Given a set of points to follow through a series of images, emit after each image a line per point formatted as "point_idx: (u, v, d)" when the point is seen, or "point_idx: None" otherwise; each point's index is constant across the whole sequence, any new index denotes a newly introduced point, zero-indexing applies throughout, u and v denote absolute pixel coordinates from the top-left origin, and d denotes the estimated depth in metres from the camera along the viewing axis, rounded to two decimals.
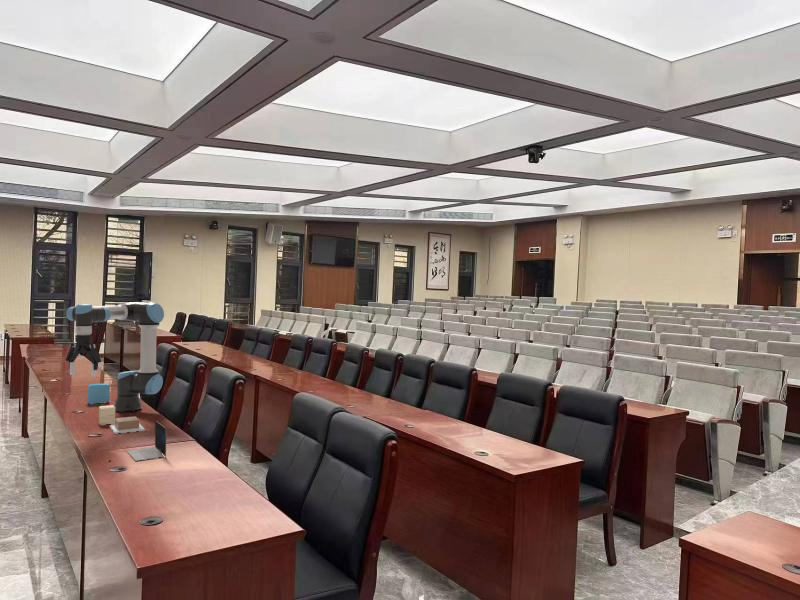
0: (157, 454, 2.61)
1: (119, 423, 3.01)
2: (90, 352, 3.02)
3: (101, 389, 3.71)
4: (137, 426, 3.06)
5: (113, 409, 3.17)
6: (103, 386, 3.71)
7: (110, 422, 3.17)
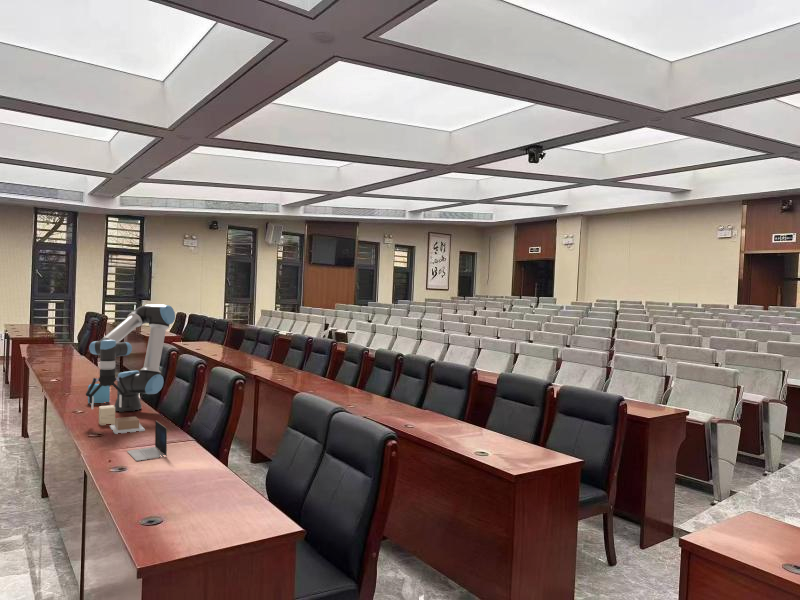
0: (158, 454, 2.61)
1: (119, 423, 3.01)
2: (98, 386, 3.16)
3: (101, 389, 3.71)
4: (137, 426, 3.06)
5: (113, 409, 3.17)
6: (103, 386, 3.71)
7: (110, 422, 3.17)
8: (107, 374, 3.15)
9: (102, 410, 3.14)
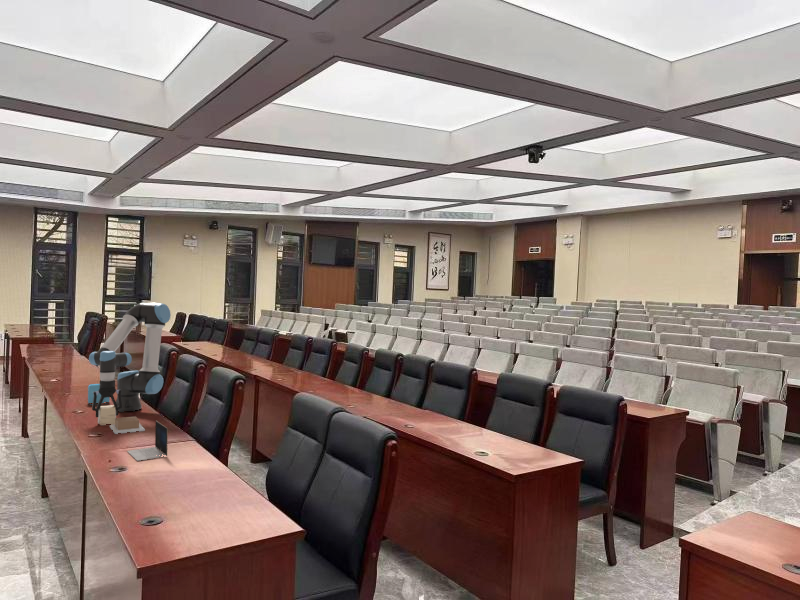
0: (158, 454, 2.61)
1: (119, 423, 3.01)
2: (100, 398, 3.17)
3: None
4: (137, 426, 3.06)
5: (113, 409, 3.17)
6: None
7: (110, 422, 3.17)
8: (107, 386, 3.15)
9: (102, 410, 3.14)
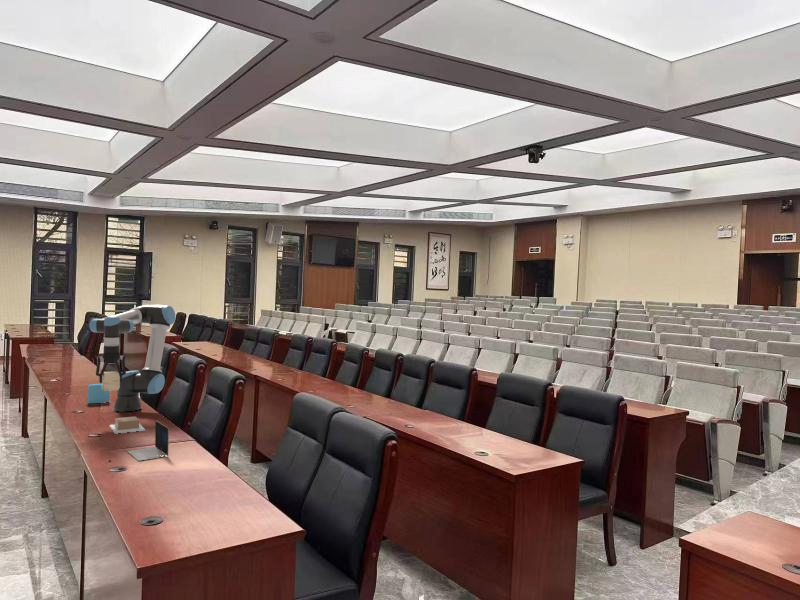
0: (159, 454, 2.61)
1: (119, 423, 3.01)
2: (104, 364, 3.14)
3: (101, 389, 3.71)
4: (137, 426, 3.06)
5: (117, 375, 3.14)
6: None
7: (114, 388, 3.13)
8: (111, 351, 3.12)
9: (106, 375, 3.11)
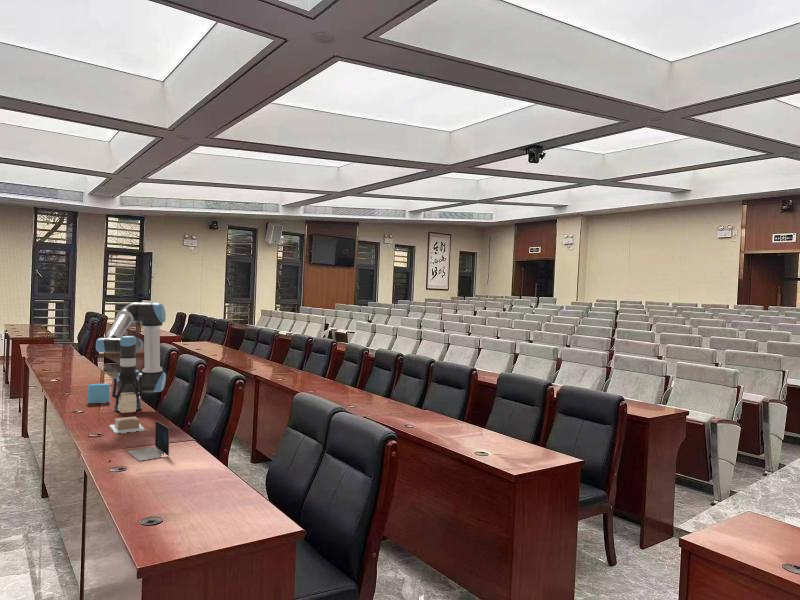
0: (159, 454, 2.61)
1: (119, 423, 3.01)
2: (120, 385, 3.06)
3: (101, 389, 3.71)
4: (137, 426, 3.06)
5: (134, 396, 3.06)
6: (103, 386, 3.71)
7: (131, 409, 3.05)
8: (128, 372, 3.04)
9: (122, 397, 3.03)
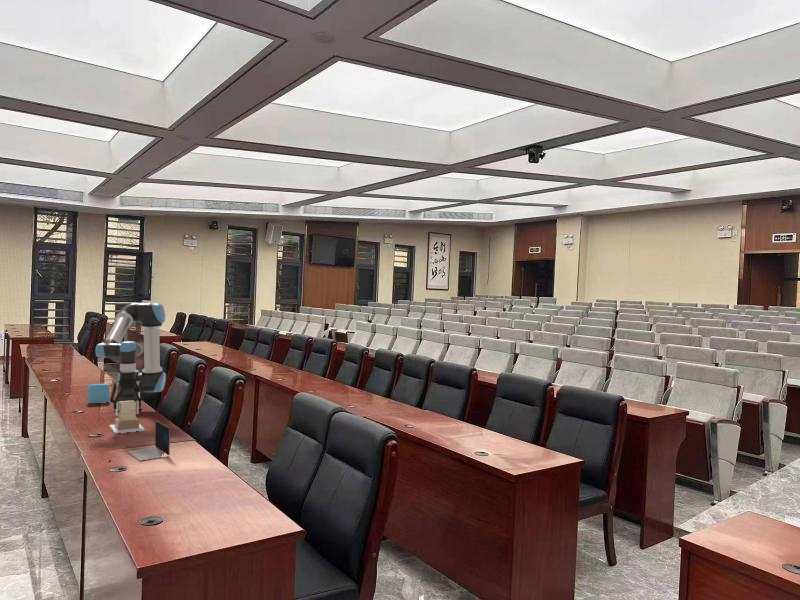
0: (160, 454, 2.61)
1: (119, 423, 3.01)
2: (119, 390, 3.05)
3: (101, 389, 3.71)
4: (137, 426, 3.06)
5: (134, 404, 3.06)
6: (103, 386, 3.71)
7: (131, 418, 3.06)
8: (128, 377, 3.04)
9: (122, 405, 3.03)
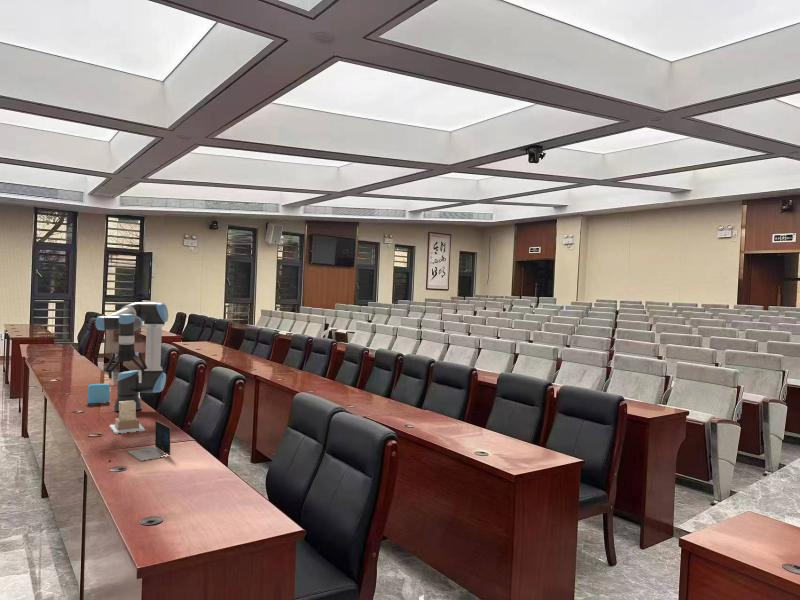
0: (160, 454, 2.62)
1: (119, 423, 3.01)
2: (117, 361, 3.08)
3: (101, 389, 3.71)
4: (137, 426, 3.06)
5: (134, 404, 3.06)
6: (103, 386, 3.71)
7: (131, 418, 3.06)
8: (126, 349, 3.07)
9: (122, 405, 3.03)
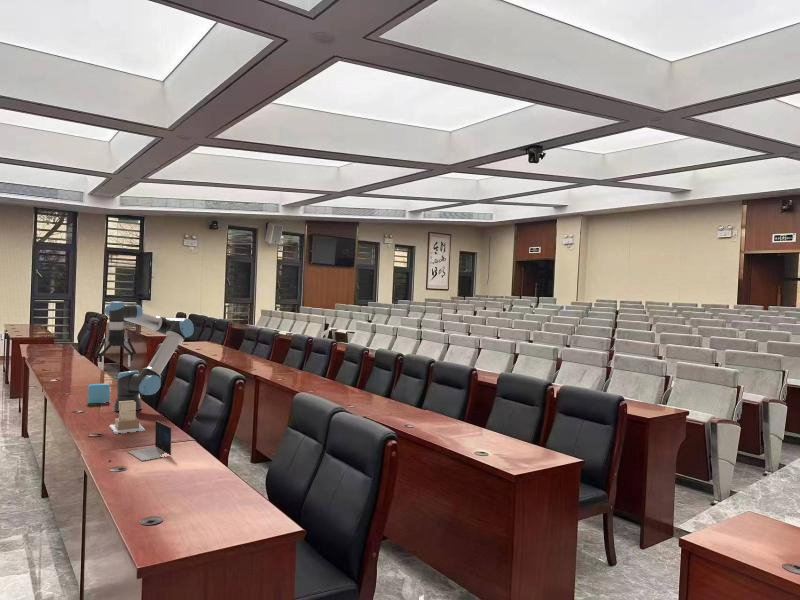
0: (161, 453, 2.62)
1: (119, 423, 3.01)
2: None
3: (101, 389, 3.71)
4: (137, 426, 3.06)
5: (134, 404, 3.06)
6: (103, 386, 3.71)
7: (131, 418, 3.06)
8: (116, 334, 3.27)
9: (122, 405, 3.03)
